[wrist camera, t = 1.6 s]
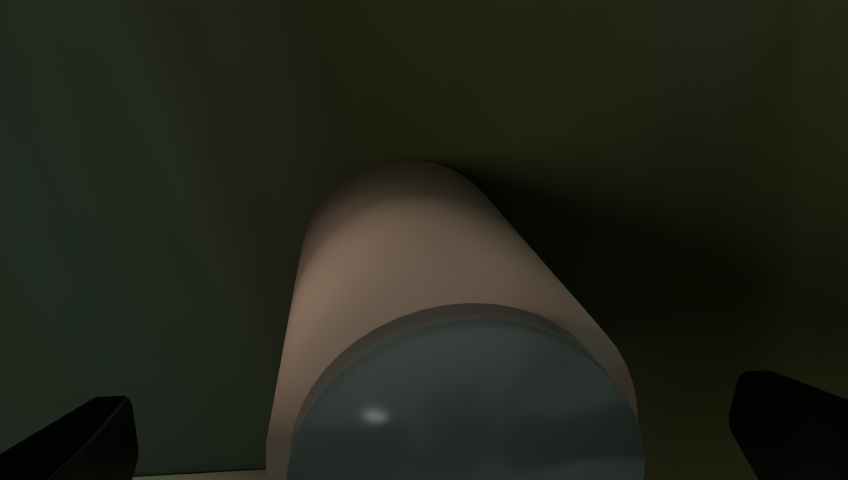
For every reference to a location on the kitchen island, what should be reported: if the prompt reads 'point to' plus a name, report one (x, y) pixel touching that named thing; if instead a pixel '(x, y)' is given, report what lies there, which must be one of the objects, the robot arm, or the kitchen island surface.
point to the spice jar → (441, 347)
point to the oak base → (213, 476)
